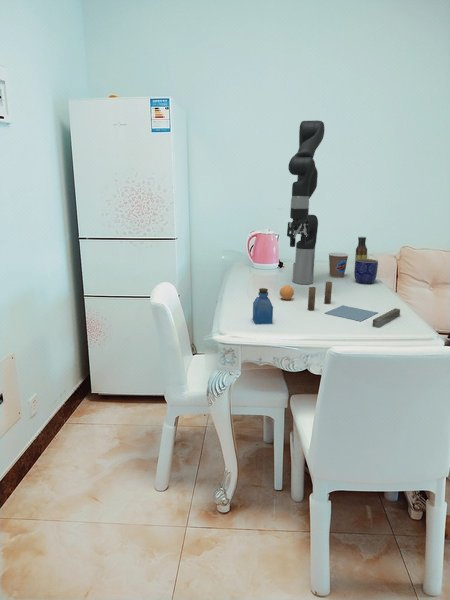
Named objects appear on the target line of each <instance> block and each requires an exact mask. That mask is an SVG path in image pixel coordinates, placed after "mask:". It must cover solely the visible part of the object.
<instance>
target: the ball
mask: <svg viewBox="0 0 450 600" xmlns="http://www.w3.org/2000/svg"><path fill="white" fill-rule="evenodd" d="M294 294H295V291H294V289H293V287H292V286H290V285H283V286H282V287H281V288H280V289H279V295H280V297H281V298H282V299H283V300H285V301H287V300H291V298H293V297H294Z"/></svg>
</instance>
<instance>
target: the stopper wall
mask: <svg viewBox="0 0 450 600" xmlns="http://www.w3.org/2000/svg"><path fill="white" fill-rule="evenodd" d="M400 315H401V309H400V308H393V309H391V310H389V311H387V312H384V314H382V315H379V316H378V317H375V318H373V319H372V327H373V328H377V329H378V328H380V327H381V326H384V325H385V324H387V323H389V322H390V321H393V320H394V319H396V318H398V317H400Z"/></svg>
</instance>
